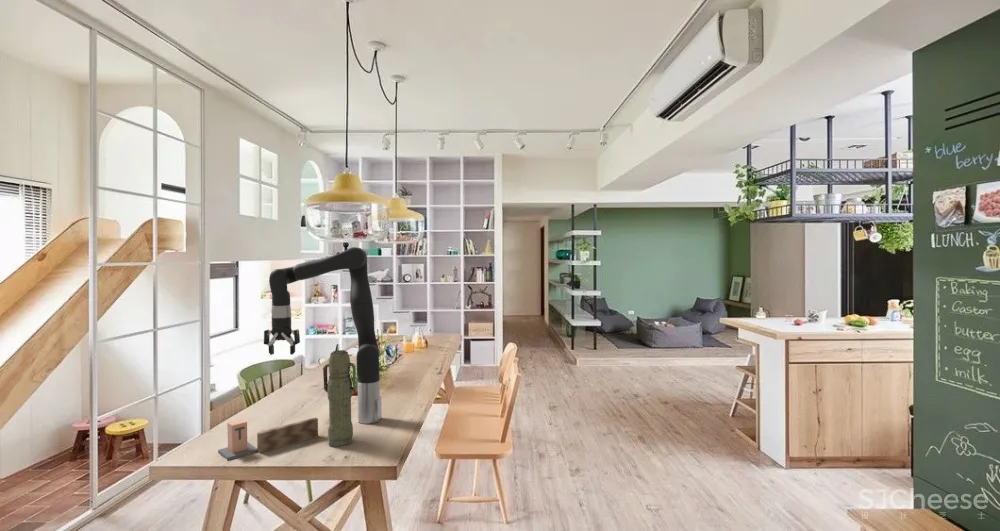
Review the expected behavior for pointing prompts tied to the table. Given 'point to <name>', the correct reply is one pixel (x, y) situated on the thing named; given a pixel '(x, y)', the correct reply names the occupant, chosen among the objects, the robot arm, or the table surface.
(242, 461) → the table surface
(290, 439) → the walnut screen
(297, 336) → the robot arm
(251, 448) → the charcoal mat
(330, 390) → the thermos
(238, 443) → the marked block
